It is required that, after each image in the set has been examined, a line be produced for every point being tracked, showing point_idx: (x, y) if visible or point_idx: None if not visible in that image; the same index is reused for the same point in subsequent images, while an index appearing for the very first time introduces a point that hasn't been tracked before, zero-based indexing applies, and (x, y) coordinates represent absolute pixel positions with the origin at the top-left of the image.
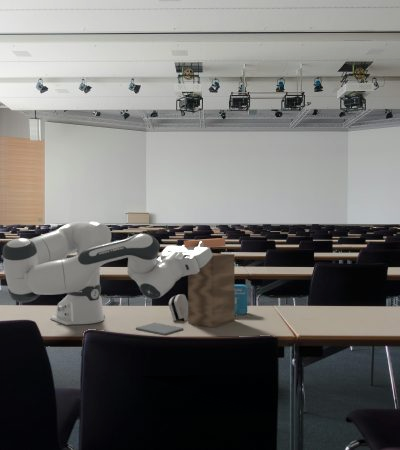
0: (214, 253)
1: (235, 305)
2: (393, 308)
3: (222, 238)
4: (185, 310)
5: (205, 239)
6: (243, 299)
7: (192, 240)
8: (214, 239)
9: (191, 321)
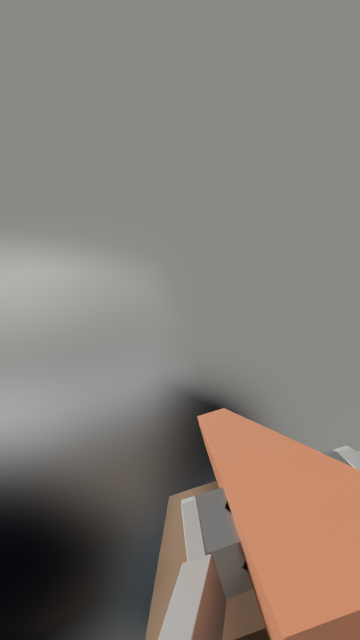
0: (201, 490)
1: None
2: (356, 451)
3: (213, 411)
4: None
5: (220, 429)
6: None
7: (282, 480)
8: (239, 416)
9: None
